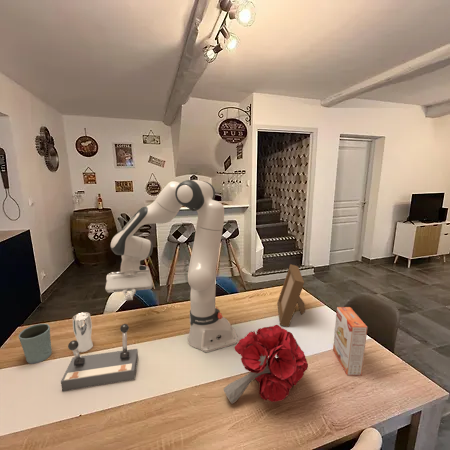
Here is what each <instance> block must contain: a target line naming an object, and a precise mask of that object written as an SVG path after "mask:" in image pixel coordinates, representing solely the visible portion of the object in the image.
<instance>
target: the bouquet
mask: <svg viewBox="0 0 450 450" xmlns="http://www.w3.org/2000/svg"><path fill="white" fill-rule="evenodd" d="M233 348H234V351H235V352H236V353H237V354H238V355H239V356H241V358H240V360H241V361H240V362H241V363H242V366H243V367H244V369H245V370H246V371H248V374H247V373H246V375H244V376H242V377H240V378H238V379H235V380H234V381H232V382H230V383H228V384H226V386H225V387H224V388H223V391H224V394H225V396H226V397H227V399H228V400H229V402H230V403H231V404H232V405H233V404H234V403H235V402H237V401H238V400H239V398H240V397H242V395H243V393H244V392H245V391H246V389H247V388H248V386H249V385H250V384H251V383H252V381H254V380H256V381H257V383H259V387H258V388H259V389H258V390H259V392H258V393H259V396H260V398H261V399H262V400H264V401H269V402H272V403H277V402H280V401H283V400H285V399H286V398H287V397H288V396H289V395H290V391H291V389H292V388H293V386H297V384H298V383H299V381H301V380H302V379H303V377H304V375H305V372H306V371H307V370H308V369H309V363H308V361H307V358H306V355H305V352H304V351H303V349H302V348H301V347H300V345H299V344H298V341H297V339H296V338H295V337H294V334H293V333H292V332H291V331H288V330H287V329H284V328H282V326H281V325H280V324H274V325H272V326H271V325H270V326H264V327H261V328H258V329H257V330H256V331H255V330H253V331H250V332H248V333H247V334H246V335H245V336H244V337H243V338H241V339H239V341H237V343H236V344H235V346H234V347H233Z"/></svg>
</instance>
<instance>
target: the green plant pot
mask: <svg viewBox="0 0 450 450" xmlns="http://www.w3.org/2000/svg"><path fill="white" fill-rule="evenodd" d="M18 339H19V342H20V344H21V348H22V351H23V354H24V357H25V360H26V362H27V363H28V364H30V365H32V364H33V365H34V364H38V363H41V362H43V361H46V360H47V359H48V358H49V357H51V356H52V352H53V351H52V349H53V348H52V341H51V326H50V324H49V323H38V324H32V325H30V326H28V327H25V328H24V329H23V330H22V331H20V333H19V334H18Z"/></svg>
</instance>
